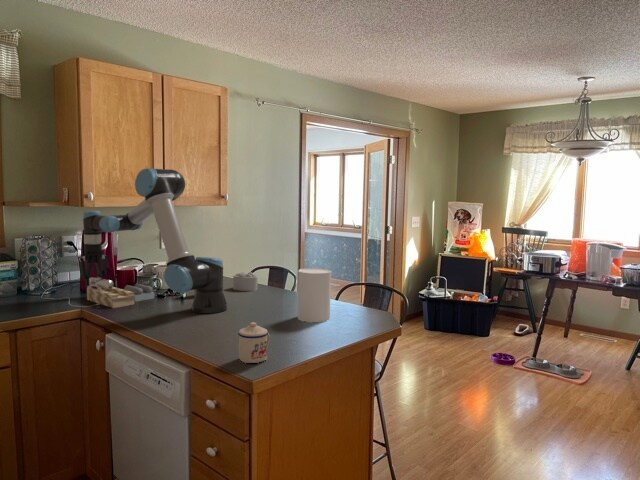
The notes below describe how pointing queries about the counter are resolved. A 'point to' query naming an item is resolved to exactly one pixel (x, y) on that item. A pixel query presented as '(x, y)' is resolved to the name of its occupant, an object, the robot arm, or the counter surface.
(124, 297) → the beige egg carton
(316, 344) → the counter surface
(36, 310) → the counter surface
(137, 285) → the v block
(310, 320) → the canister
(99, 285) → the axle
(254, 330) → the teacup with lid
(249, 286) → the lumpy-topped squat cylinder
